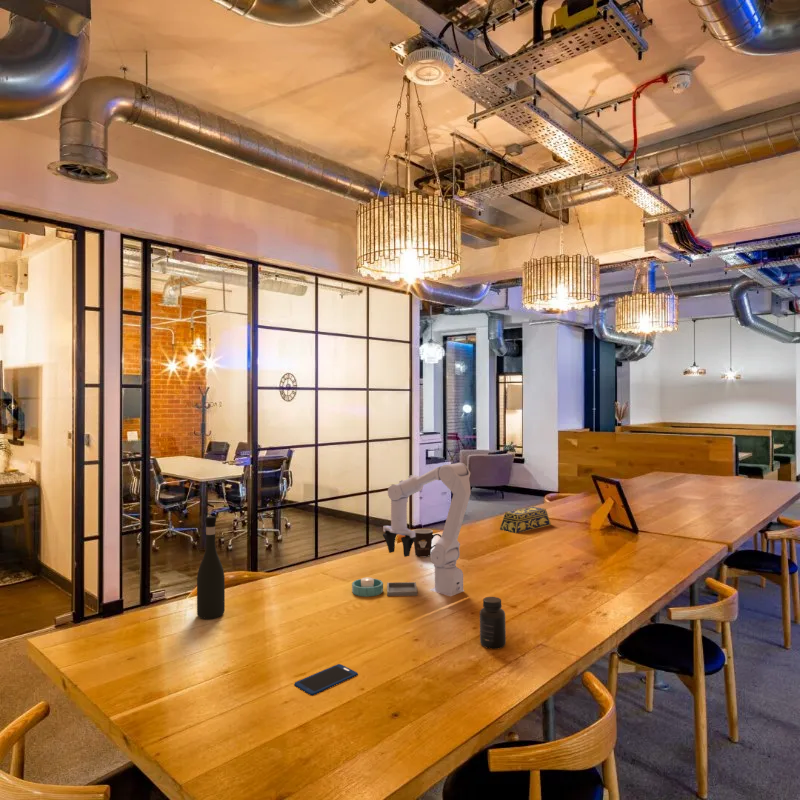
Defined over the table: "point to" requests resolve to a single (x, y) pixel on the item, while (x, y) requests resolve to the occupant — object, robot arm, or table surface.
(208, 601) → the wine bottle
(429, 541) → the coffee mug
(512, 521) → the decorative box
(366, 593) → the bowl
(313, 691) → the cell phone
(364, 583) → the stone
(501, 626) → the supplement bottle
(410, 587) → the parts tray
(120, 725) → the table surface
